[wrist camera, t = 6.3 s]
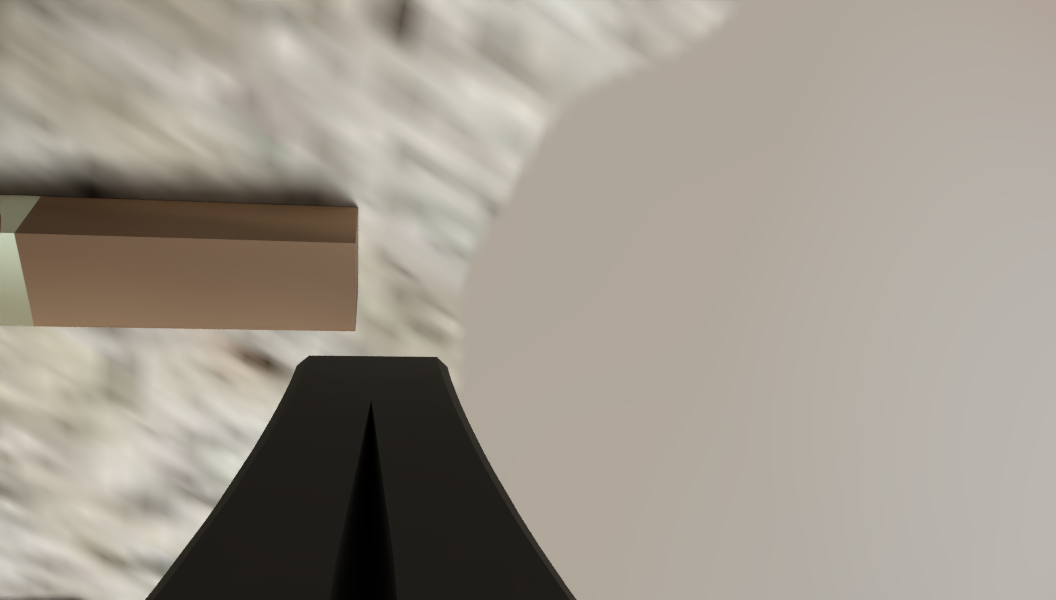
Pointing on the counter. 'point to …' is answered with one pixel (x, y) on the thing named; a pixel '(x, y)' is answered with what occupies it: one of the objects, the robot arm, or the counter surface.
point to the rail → (177, 264)
